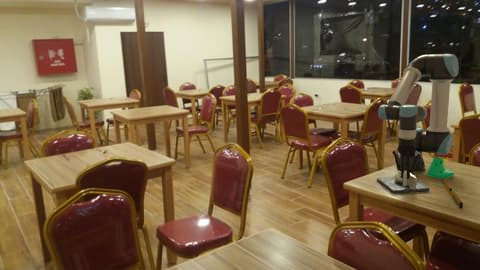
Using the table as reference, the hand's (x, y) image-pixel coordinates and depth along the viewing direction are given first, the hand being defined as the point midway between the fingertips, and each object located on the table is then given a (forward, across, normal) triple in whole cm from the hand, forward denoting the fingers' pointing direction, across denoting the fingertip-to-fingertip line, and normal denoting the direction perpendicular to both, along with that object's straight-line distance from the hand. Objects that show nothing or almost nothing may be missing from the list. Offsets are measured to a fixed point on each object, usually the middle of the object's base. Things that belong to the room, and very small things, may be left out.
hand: (405, 184), depth 191 cm
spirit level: (+4, +19, +7) cm, 21 cm away
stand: (+4, -3, +8) cm, 10 cm away
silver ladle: (+1, -1, +6) cm, 6 cm away
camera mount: (+4, +11, +33) cm, 35 cm away
